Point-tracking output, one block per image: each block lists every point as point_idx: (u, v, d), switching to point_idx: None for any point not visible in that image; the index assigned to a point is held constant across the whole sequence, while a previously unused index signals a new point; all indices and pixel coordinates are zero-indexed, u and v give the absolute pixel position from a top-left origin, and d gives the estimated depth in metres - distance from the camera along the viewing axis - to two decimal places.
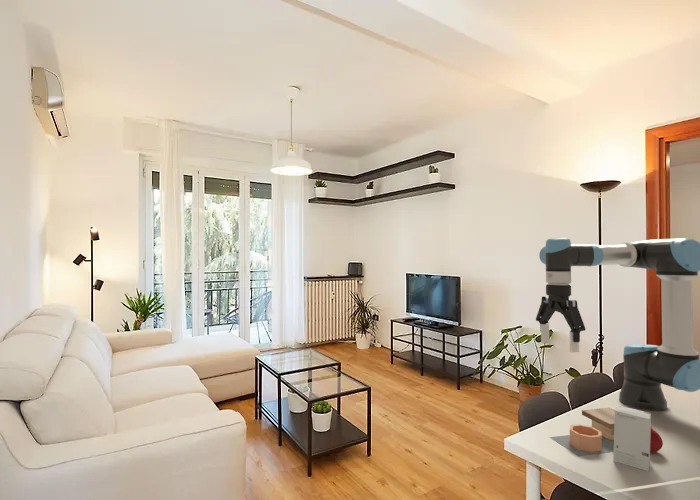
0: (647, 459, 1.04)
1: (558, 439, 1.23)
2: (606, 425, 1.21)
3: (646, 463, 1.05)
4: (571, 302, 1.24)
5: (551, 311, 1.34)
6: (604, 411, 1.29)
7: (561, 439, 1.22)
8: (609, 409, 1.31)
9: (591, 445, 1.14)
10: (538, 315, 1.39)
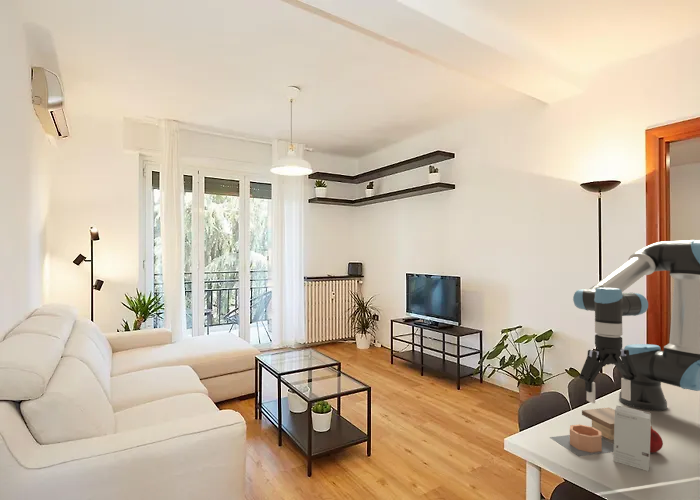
0: (647, 459, 1.04)
1: (558, 439, 1.23)
2: (606, 425, 1.21)
3: (646, 463, 1.05)
4: (588, 352, 1.26)
5: (616, 364, 1.27)
6: (604, 411, 1.29)
7: (561, 439, 1.22)
8: (609, 409, 1.31)
9: (591, 445, 1.14)
10: None
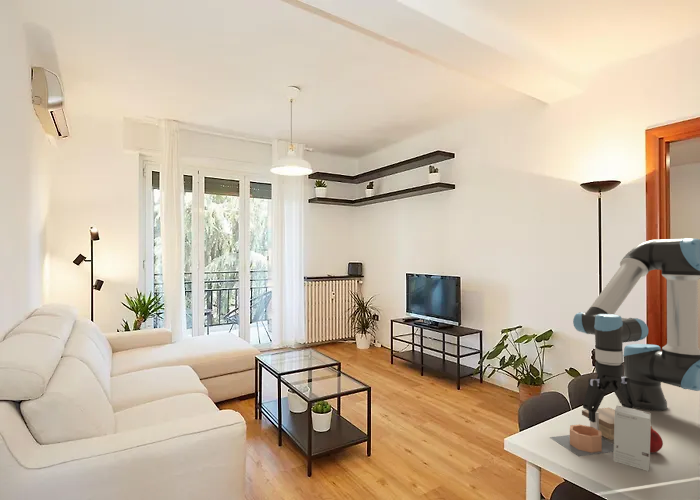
0: (647, 459, 1.04)
1: (558, 439, 1.23)
2: (606, 425, 1.21)
3: (646, 463, 1.05)
4: (589, 380, 1.26)
5: (616, 391, 1.27)
6: (604, 411, 1.29)
7: (561, 439, 1.22)
8: (609, 409, 1.31)
9: (591, 445, 1.14)
10: None
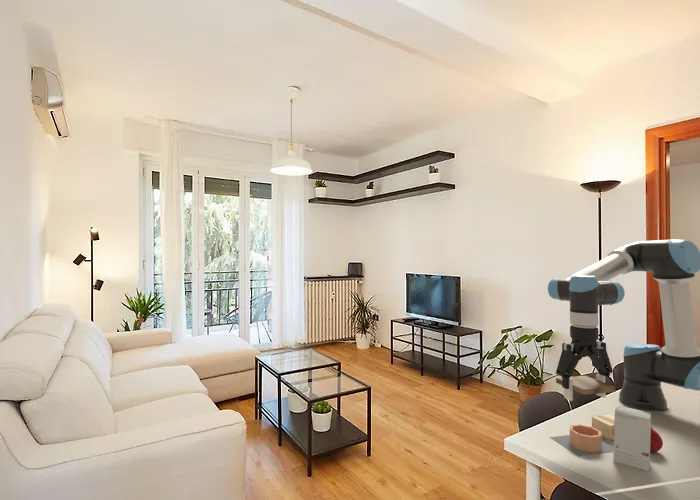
0: (647, 459, 1.04)
1: (558, 439, 1.23)
2: (580, 391, 1.13)
3: (646, 463, 1.05)
4: (563, 345, 1.18)
5: (591, 357, 1.20)
6: (579, 379, 1.21)
7: (561, 439, 1.22)
8: (585, 377, 1.23)
9: (591, 445, 1.14)
10: None
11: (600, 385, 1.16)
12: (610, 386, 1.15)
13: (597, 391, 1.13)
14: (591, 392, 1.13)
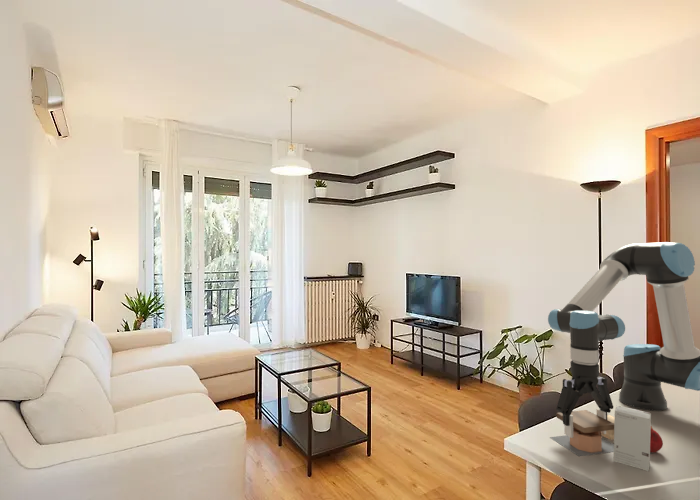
0: (647, 459, 1.04)
1: (558, 439, 1.23)
2: (580, 429, 1.13)
3: (646, 463, 1.05)
4: (563, 381, 1.18)
5: (592, 393, 1.19)
6: (580, 414, 1.21)
7: (561, 439, 1.22)
8: (585, 412, 1.23)
9: (591, 445, 1.14)
10: None
11: (601, 422, 1.16)
12: (611, 423, 1.15)
13: (598, 429, 1.13)
14: (592, 431, 1.13)
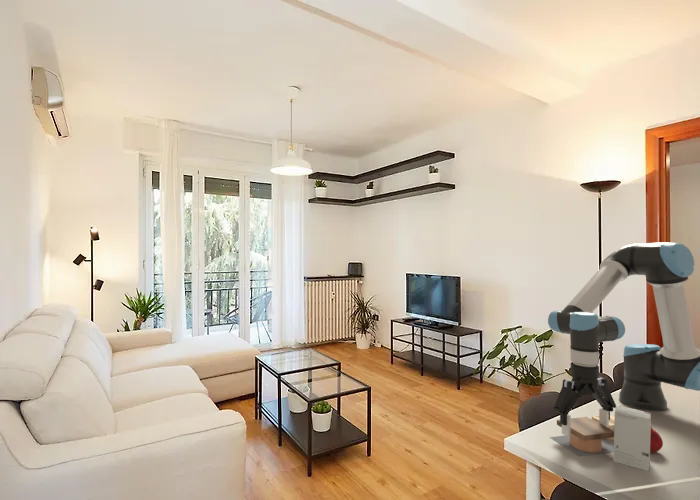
0: (647, 459, 1.04)
1: (558, 439, 1.23)
2: (580, 436, 1.13)
3: (646, 463, 1.05)
4: (563, 381, 1.18)
5: (593, 394, 1.19)
6: (580, 421, 1.21)
7: (561, 439, 1.22)
8: (586, 419, 1.23)
9: (591, 445, 1.14)
10: None
11: (601, 429, 1.16)
12: (611, 431, 1.15)
13: (598, 437, 1.13)
14: (592, 438, 1.13)
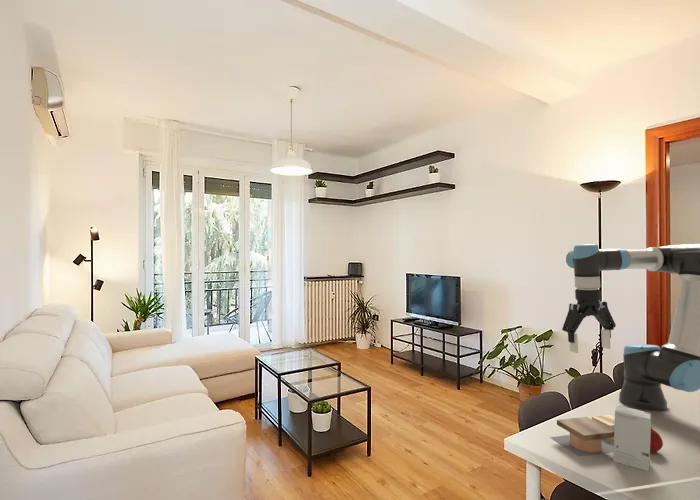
0: (647, 459, 1.04)
1: (558, 439, 1.23)
2: (580, 436, 1.13)
3: (646, 463, 1.05)
4: (570, 305, 1.33)
5: (596, 315, 1.35)
6: (580, 421, 1.21)
7: (561, 439, 1.22)
8: (586, 419, 1.23)
9: (591, 445, 1.14)
10: None
11: (601, 429, 1.16)
12: (611, 431, 1.15)
13: (598, 437, 1.13)
14: (592, 438, 1.13)
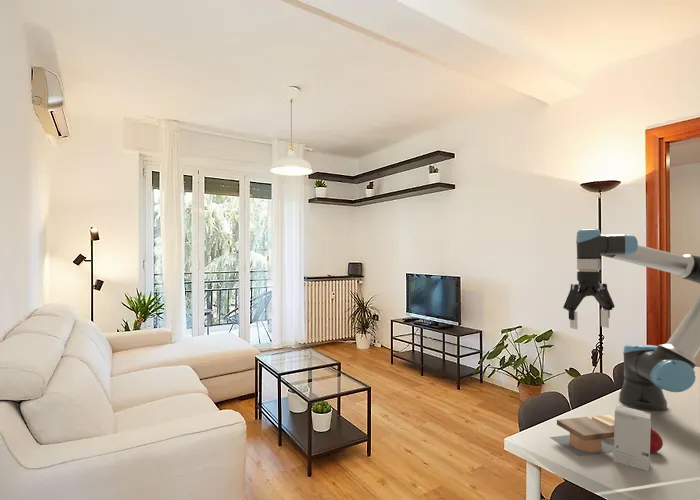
0: (647, 459, 1.04)
1: (558, 439, 1.23)
2: (580, 436, 1.13)
3: (646, 463, 1.05)
4: (571, 285, 1.44)
5: (596, 296, 1.45)
6: (580, 421, 1.21)
7: (561, 439, 1.22)
8: (586, 419, 1.23)
9: (591, 445, 1.14)
10: None
11: (601, 429, 1.16)
12: (611, 431, 1.15)
13: (598, 437, 1.13)
14: (592, 438, 1.13)
